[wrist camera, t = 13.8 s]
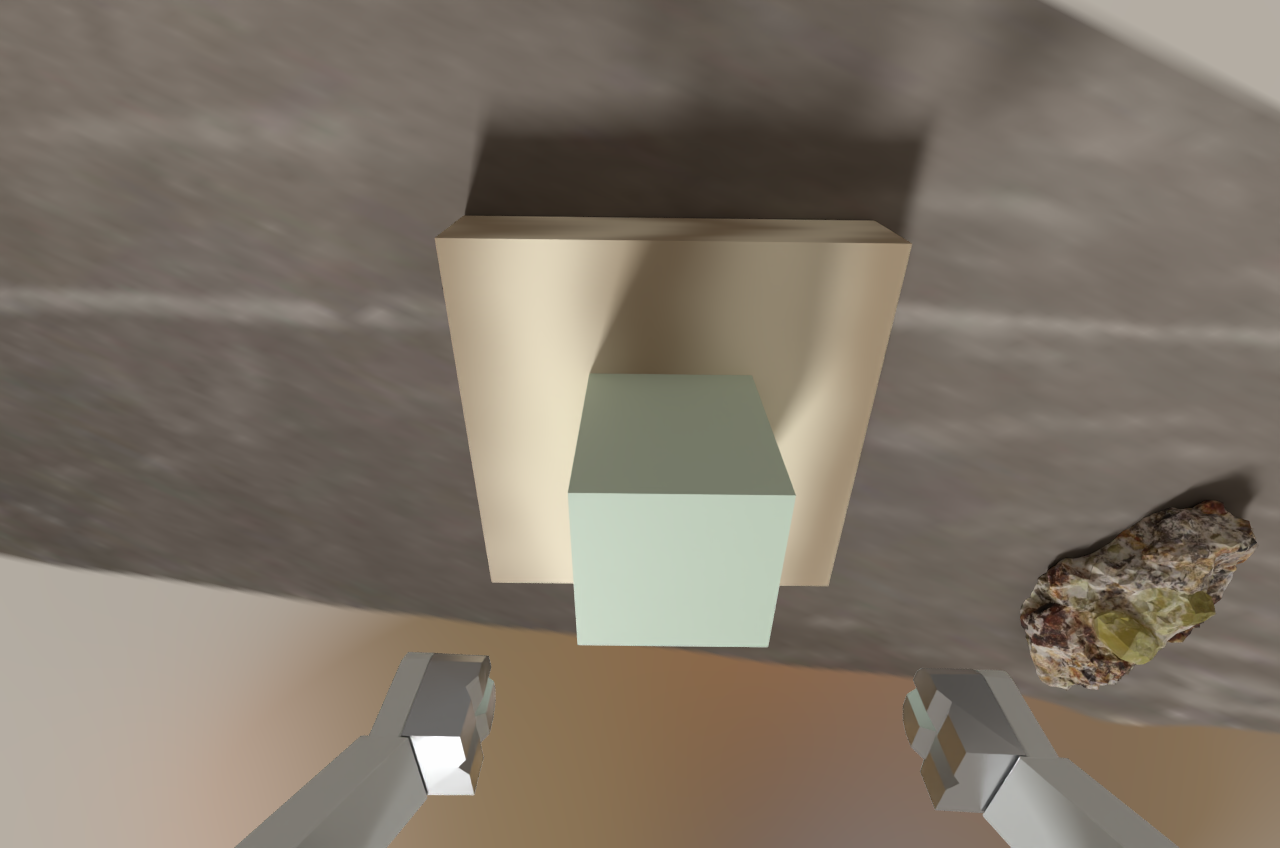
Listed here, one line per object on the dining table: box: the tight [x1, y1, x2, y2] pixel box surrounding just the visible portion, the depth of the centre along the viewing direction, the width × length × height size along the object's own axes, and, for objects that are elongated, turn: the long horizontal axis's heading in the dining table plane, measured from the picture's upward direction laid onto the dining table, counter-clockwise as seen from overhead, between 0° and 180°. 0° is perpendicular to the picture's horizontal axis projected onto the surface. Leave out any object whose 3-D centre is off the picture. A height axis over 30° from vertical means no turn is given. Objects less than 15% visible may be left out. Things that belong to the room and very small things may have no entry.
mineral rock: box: [1020, 500, 1258, 690], centre depth 26 cm, size 11×4×8 cm
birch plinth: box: [435, 216, 912, 586], centre depth 20 cm, size 13×13×3 cm
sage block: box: [568, 373, 796, 647], centre depth 17 cm, size 5×5×6 cm
